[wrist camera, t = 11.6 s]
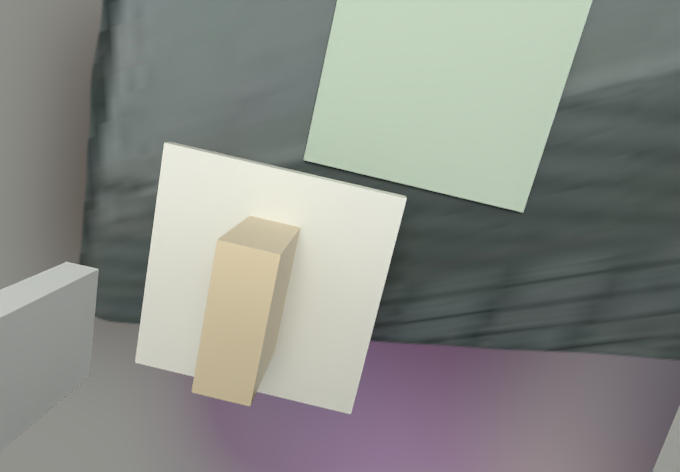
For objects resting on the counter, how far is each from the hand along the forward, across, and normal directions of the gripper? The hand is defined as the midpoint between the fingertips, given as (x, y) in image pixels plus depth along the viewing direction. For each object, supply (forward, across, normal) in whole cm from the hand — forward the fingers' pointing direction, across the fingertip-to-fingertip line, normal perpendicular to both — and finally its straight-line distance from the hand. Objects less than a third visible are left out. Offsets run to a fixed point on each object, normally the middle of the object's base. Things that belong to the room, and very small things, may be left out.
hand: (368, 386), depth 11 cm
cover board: (+18, +6, +5) cm, 20 cm away
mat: (+26, -2, -10) cm, 27 cm away
